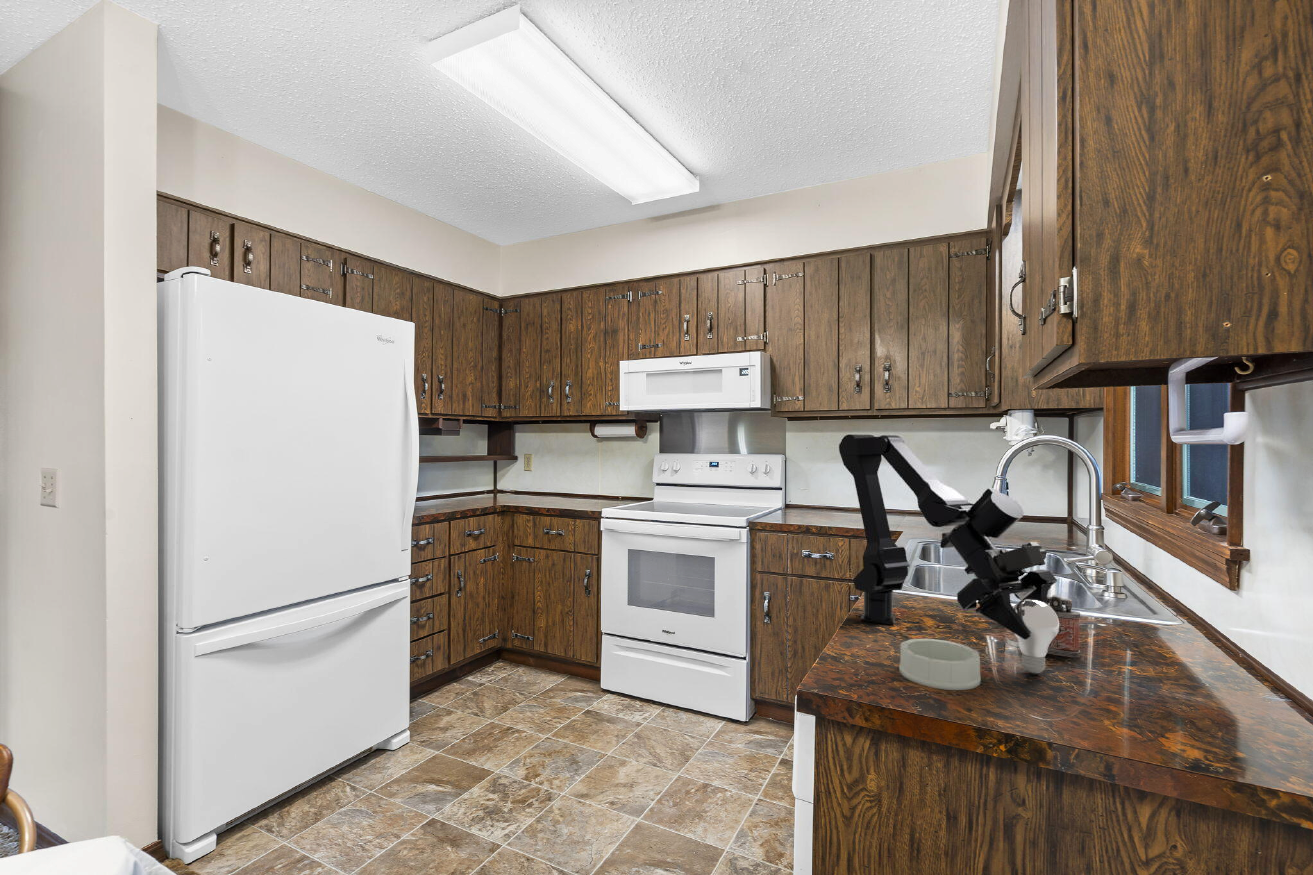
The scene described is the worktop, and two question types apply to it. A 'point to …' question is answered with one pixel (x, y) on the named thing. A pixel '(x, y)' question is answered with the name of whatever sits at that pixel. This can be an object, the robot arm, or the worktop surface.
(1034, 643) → the light bulb
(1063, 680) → the worktop surface
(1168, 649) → the worktop surface
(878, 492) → the robot arm
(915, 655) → the bulb holder
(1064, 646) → the lighter
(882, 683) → the worktop surface
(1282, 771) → the worktop surface
